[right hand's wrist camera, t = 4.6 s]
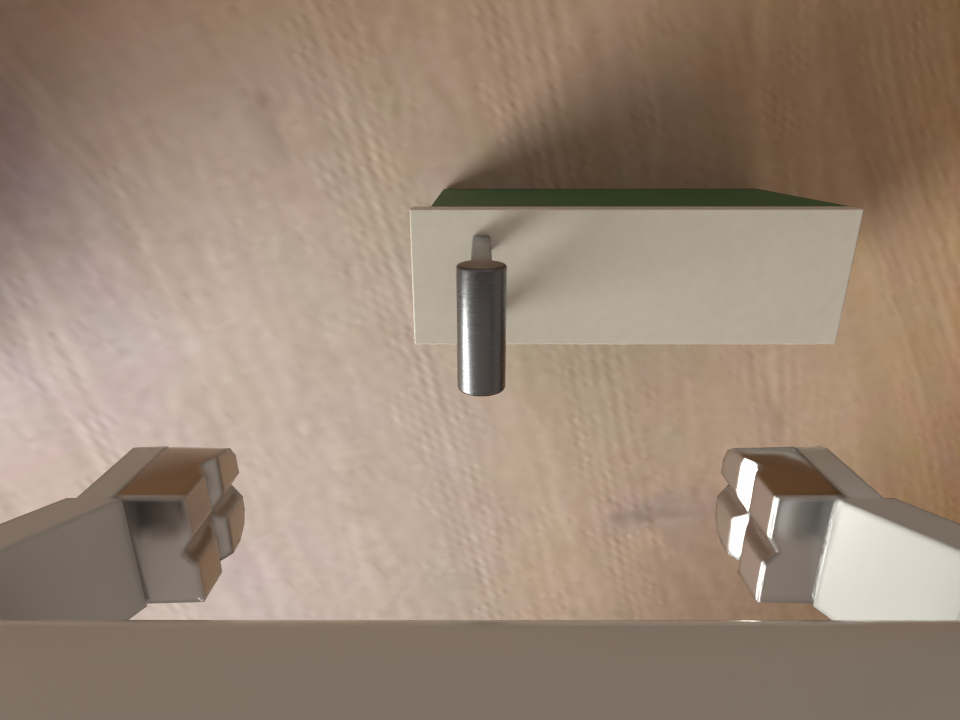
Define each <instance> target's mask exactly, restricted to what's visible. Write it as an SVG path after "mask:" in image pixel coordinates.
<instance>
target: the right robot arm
mask: <svg viewBox="0 0 960 720" xmlns="http://www.w3.org/2000/svg"><path fill="white" fill-rule="evenodd" d="M238 473H239V470H238V465H237V460H236V455H235V454H234V453H233V451H232V450H231V449H230V448H187V447H170V448H169V447H167V446H165V447H139V448H133V449H132V450H130V451H129V452H128V453H127V454H126V455H125V456H124V457H123V458H121V459H120V460H119V461H118V462H117V463H116V464H115V465H113V466H112V467H111V468H110V469H109V470H108V471H107V472H105V473H104V474H103V475H102V476H101V477H100V478H99V479H98V480H96V481H95V482H94V483H93V484H92V485H91V486H90V487H88V488H87V489H86V490H85V491H84V492H83V493H82V494H81V495H79V496H78V497H77V498H66V499H63V500H60V501H58V502H55V503H53V504H50V505H48V506H45V507H42V508H40V509H37V510H35V511H32V512H30V513H27V514H25V515H22V516H19V517H17V518H14V519H12V520H9V521H7V522H4V523H2V524H0V720H960V524H958V523H956V522H953V521H951V520H948V519H946V518H943V517H940V516H938V515H935V514H933V513H930V512H928V511H925V510H923V509H920V508H917V507H915V506H912V505H910V504H907V503H905V502H902V501H900V500H897V499H895V498H883V497H882V496H881V495H880V494H878V493H877V492H876V491H875V490H874V489H873V488H872V487H870V486H869V485H868V484H867V483H866V482H865V481H864V480H863V479H861V478H860V477H859V476H858V475H857V474H856V473H855V472H854V471H852V470H851V469H850V468H849V467H848V466H847V465H846V464H844V463H843V462H842V461H841V460H840V459H839V458H838V457H837V456H835V455H834V454H833V453H832V452H831V451H830V450H829V449H827V448H823V447H820V446H816V447H770V448H734V449H729V450H727V452H726V454H725V457H724V459H723V464H722V470H721V473H722V475H723V477H724V478H725V480H726V481H727V483H728V484H729V485H728V486H727V487H726V488H725V489H724V490H723V491H722V492H721V493H720V494H719V495H718V496H717V503H716V512H715V517H716V527H717V533H718V536H719V539H720V542H721V544H722V546H723V547H724V549H725V551H726V553H728V554H729V555H731V556H732V557H734V558H736V559H737V560H739V561H740V562H739V568H738V573H739V575H740V576H741V578H742V579H743V581H744V583H745V584H746V586H747V588H748V589H749V591H750V593H751V594H752V596H753V598H754V599H755V601H756V602H777V603H813V606H814V607H815V608H816V609H818V610H819V611H821V612H822V613H823V614H825V615H826V616H827V617H829V618H830V619H831V620H129V619H130V618H131V617H133V616H134V615H136V614H137V613H138V612H140V611H141V610H142V609H144V608H145V607H146V606H147V604H146V603H182V602H204V601H205V599H206V598H207V596H208V594H209V593H210V591H211V589H212V588H213V586H214V584H215V583H216V581H217V580H218V578H219V576H220V575H221V573H222V568H221V562H220V561H221V560H223V559H224V558H226V557H228V556H229V555H231V554H232V553H234V551H235V549H236V547H237V545H238V544H239V542H240V539H241V535H242V531H243V527H244V511H245V509H244V502H243V496H242V495H241V494H240V493H239V492H238V491H237V490H236V489H235V488H234V487H233V486H232V485H231V484H232V483H233V481H234V480H235V478H236V477H237V475H238Z"/></svg>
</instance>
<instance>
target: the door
mask: <svg viewBox="0 0 960 720" xmlns="http://www.w3.org/2000/svg"><path fill="white" fill-rule="evenodd" d="M863 211H864V210H863V209H860V208H855V207H849V206H796V207H412V208H411V209H410V233H411V258H412V284H413V309H414V334H415V344H457V365H458V388H459V390H460V391H461V392H463V393H465V394H468V395H472V396H490V395H495V394H498V393H500V392H502V391H503V390H504V388H505V360H506V344H835V343H836V338H837V333H838V329H839V324H840V319H841V315H842V310H843V305H844V300H845V296H846V291H847V286H848V282H849V277H850V272H851V268H852V263H853V258H854V253H855V249H856V244H857V239H858V235H859V230H860V225H861V221H862V216H863Z"/></svg>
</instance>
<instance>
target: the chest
mask: <svg viewBox="0 0 960 720" xmlns="http://www.w3.org/2000/svg"><path fill="white" fill-rule="evenodd" d="M796 206H844V205H839V204H834V203H828V202H823V201H818V200H812V199H807V198H802V197H796V196H791V195H786V194H780V193H775V192H770V191H765V190H759V189H444V190H443V191H442V192H441V194H440V195H439V197H438V198H437V199H436V201H435V202H434V204H433V205H432V206H431V207H796Z"/></svg>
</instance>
